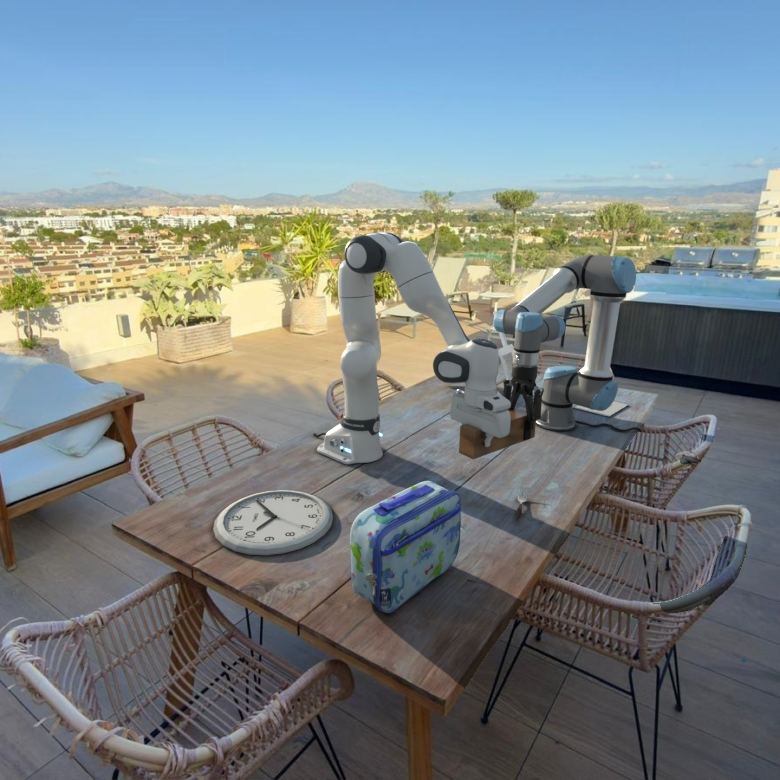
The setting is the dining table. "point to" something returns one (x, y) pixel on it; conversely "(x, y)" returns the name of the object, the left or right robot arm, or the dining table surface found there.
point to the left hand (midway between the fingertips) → (477, 442)
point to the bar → (474, 437)
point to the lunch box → (404, 544)
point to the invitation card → (609, 411)
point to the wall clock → (273, 522)
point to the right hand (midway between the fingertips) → (518, 436)
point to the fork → (521, 499)
